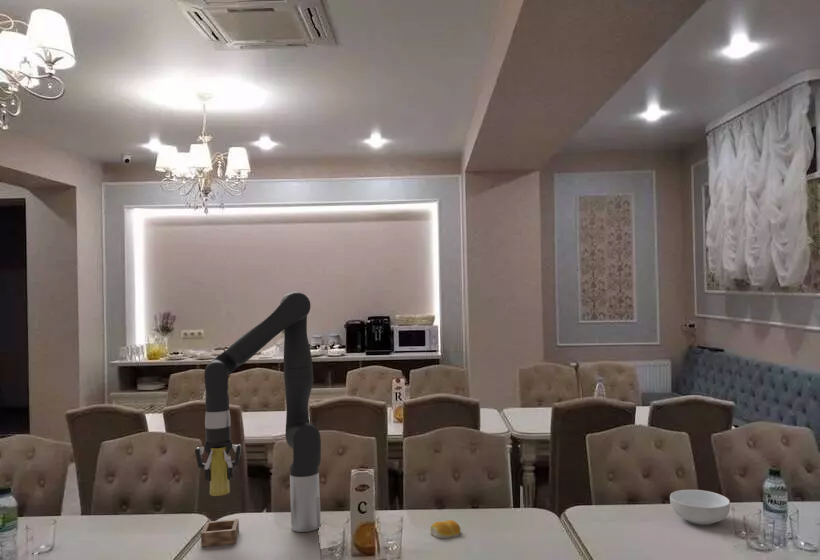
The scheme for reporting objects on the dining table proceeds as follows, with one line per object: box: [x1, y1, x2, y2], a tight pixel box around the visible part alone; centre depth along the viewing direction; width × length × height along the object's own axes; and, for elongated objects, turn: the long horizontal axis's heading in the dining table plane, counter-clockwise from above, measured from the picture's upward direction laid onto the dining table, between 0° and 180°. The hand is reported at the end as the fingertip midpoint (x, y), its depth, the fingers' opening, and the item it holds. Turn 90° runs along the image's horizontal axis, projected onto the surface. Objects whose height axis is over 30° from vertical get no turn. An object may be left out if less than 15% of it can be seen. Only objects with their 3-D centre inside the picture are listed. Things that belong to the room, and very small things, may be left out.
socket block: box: [200, 518, 240, 548], centre depth 196 cm, size 10×10×4 cm
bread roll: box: [429, 519, 461, 539], centre depth 194 cm, size 8×9×4 cm
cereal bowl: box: [669, 489, 731, 526], centre depth 197 cm, size 17×17×7 cm
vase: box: [209, 447, 231, 497], centre depth 196 cm, size 6×6×14 cm
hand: (219, 479), depth 196 cm, fingers closed on vase, 5 cm apart
